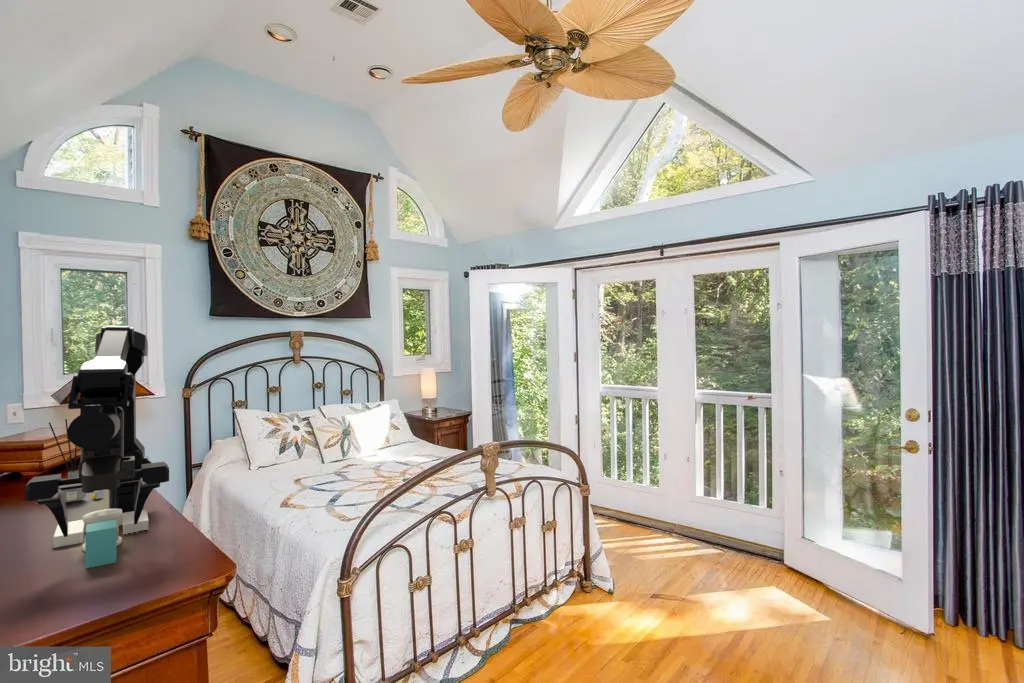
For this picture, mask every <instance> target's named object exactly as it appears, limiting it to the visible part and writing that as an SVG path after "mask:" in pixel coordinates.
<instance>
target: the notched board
mask: <svg viewBox="0 0 1024 683" xmlns="http://www.w3.org/2000/svg"><path fill="white" fill-rule="evenodd" d="M120 525H121V526H122V536H125V535H124V534H126V535H129V534H128V533H131V534H133V533H132V532H136V531H140V530H145V529H148V530H149V516H148V511H147V508H146V509H145V508H144V510H142V512H141V515H140V517H139V520H138V522H137V524H135V525H134V511H132V512H126V513H122V516H120V517H119V527H120ZM85 533H86V523H85V522H83V519H78V520H72V521H68V536H67V537H64V536H63V533H62V531H61V529H60V527H59V525H58V524H57V526H56V528H55V531H54V535H53V538H52V539H53V540H52V541H53V543H52V544H53V545H52V546H53V547H52V548H53V549H55V548H61V546H62V547H65V546H66V547H67V546H71V545H72V546H73V545H77V544H82V543H83V540H84V535H85ZM136 533H137V532H136Z"/></svg>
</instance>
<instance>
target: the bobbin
mask: <svg viewBox="0 0 1024 683" xmlns="http://www.w3.org/2000/svg"><path fill="white" fill-rule="evenodd" d="M120 516H122V509H117V508H114V509H108V508H105V509H99V510H94V511H91V512H88V513H86V514H84V515H82V520H83V522H85V523H86V528H87V524H92V523H98V522H104V521H110V520H115V519H117V538H116V547H118V546H120V545H121V544H122V543H123V537H122V536H120V535H119V534H120V532H119V529H120V528H119V527H120V526H119V517H120ZM81 546H82V548H81V550H82V552H84V553H85V549H86V542H84V543H83V544H82V545H81Z"/></svg>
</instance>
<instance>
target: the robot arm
mask: <svg viewBox="0 0 1024 683" xmlns="http://www.w3.org/2000/svg"><path fill="white" fill-rule="evenodd" d="M148 344H149V343H148V339H147V335H146V334H144V333H141V332H139V331H135V329H134V327H132V326H131V327H130V326H128V325H106V326H102V327H101V329H100V332H98V333H96V335H95V345H94V346H95V347H94V352H95V356H94V358H93V359H90V360H89V361H85V362H83V363H82V364H81V366H80V367H79V369H78V372H77V373H74V374H73V376H72V383H71V387H70V394H69V398H68V404H67V405H68V406H67V409H68V410H77V409H78V410H79V409H80V413H79V415H78V416H77V417H75V418H74V419H73V420H72V421H71V422H70V424H69V426H68V432H67V431H66V434H67V433H68V437H67V439H68V438H69V441H70V443H72V444H73V445H74V446H75V445H76V446H77V448H80V458H81V463H80V465H79V468H78V472H79V477H75V478H68V477H67V478H62V473H57V474H50V475H48V474H47V475H42V476H41V475H40V476H33V477H31V479H29V480H28V482H27V483H26V484H25V488H24V502H34V501H36V502H35V504H36V505H38V506H42V505H44V506H46V507H47V508H48V510H50V513H52V515H53V516H54V518H55V521H56V522H57V526H58V525H59V527H60V529H61V531H62V533H63V536H64V537H67V536H68V522H69V520H68V513H67V507H66V502H65V498H64V491H62V490H69V489H76V488H82V492H84V493H86V494H92V493H95V492H96V491H99V490H102V491H105V490H108V508H107V509H114V508H117V509H122V513H126V512H132V511H134V525H135V524H137V522H138V520H139V517H140V515H141V512H142V510H144V509H145V508H144V506H145V504H146V502H147V499H148V498H149V496H150V495H151V492H152V491H153V490H154V489H157V488H160V487H161V484H162V483H167V482H169V481H170V468H169V465H168V463H166V462H165V461H158V462H157V461H156V462H152V461H150V459H149V456H146V454H145V453H146V450H145V449H146V448H145V446H144V445H143V443H142V442H141V441H140V440H139V439H138V438H137V416H136V415H137V412H136V411H137V402H136V401H137V396H136V395H137V394H136V392H137V391H136V388H137V387H136V386H137V383H136V382H137V380H136V377H137V375H136V373H138V371H139V370H140V368H141V367H142V365H143V364H144V362H145V357H147V356H148V352H149V345H148Z"/></svg>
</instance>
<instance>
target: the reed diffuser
mask: <svg viewBox="0 0 1024 683" xmlns="http://www.w3.org/2000/svg"><path fill="white" fill-rule="evenodd" d="M48 424H49V427H50V430H51V432H52V434H53V437H54V439H55V441H56V444H57V446H58V449H59V451H60V454H61V456H62V459H63V462H64V463H65V466H66V468H67V472H68V473H67V478H75V477H79V466H80V464H81V457H80V459H79V462H78V465H77V467H76V463H77V449H78V447H77V446H76V445H74V446H75V449H74V463H73V459H72V457H73V456H72V451H71V450H72V449H71V441H70V439H69V438H68V433H67V432H68V428H69V426H68V420H67V418H65V429H66V436H67V444H68V452H69V458H70V466H71V467H69V464H68V462H67V460H66V458H65V454H64V453H63V449H62V447H61V446H60V443H59V440H58V438H57V436H56V433H55V431H54V428H53V426H52V423H51V422H48ZM73 464H74V465H73ZM70 468H71V470H70ZM62 491H64V498H65V503H69V502H76V501H80V500H81V501H82V500H84V499H85V498H86V496H87V493H84V492H82V488H76V489H69V490H62ZM104 497H105V493H104V490H99V491H94V494H92V495H91V499H93V500H95V499H97V500H101V499H103V498H104Z"/></svg>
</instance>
